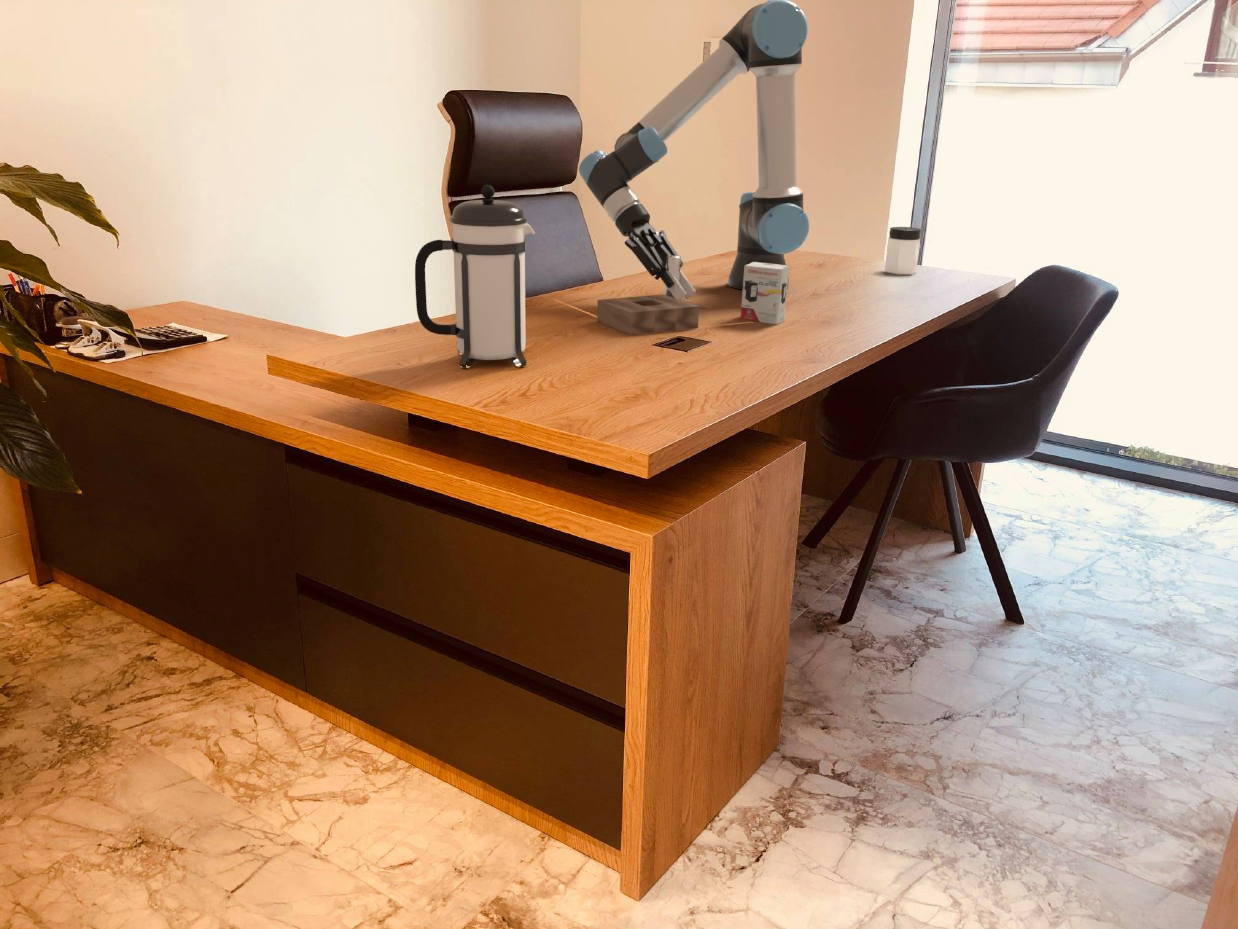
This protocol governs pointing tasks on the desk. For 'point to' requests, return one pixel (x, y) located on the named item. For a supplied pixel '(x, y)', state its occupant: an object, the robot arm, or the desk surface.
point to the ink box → (764, 292)
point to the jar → (902, 250)
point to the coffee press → (483, 280)
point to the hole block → (647, 314)
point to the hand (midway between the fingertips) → (686, 296)
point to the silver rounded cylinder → (673, 270)
